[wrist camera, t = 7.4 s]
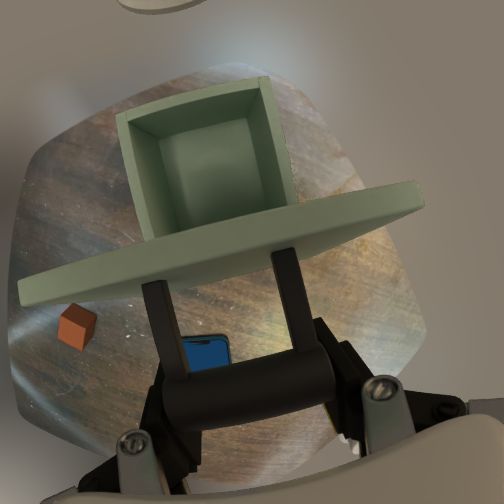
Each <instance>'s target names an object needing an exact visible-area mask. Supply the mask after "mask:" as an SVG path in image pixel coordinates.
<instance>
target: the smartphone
mask: <svg viewBox="0 0 504 504" xmlns="http://www.w3.org/2000/svg"><path fill="white" fill-rule="evenodd" d="M182 342H183V345H184V349H185V352H186V356H187V359H188V362H189V366H190V369H191V372H193V371H198V370H204V369H209V368H214V367H219V366H224V365H229V364H232V363H231V358H230V351H229V344H228V340H227V338H226V337H224V336H209V337H196V338H182Z"/></svg>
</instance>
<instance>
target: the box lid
mask: <svg viewBox="0 0 504 504" xmlns="http://www.w3.org/2000/svg"><path fill="white" fill-rule="evenodd" d="M424 206H425V203H424V200H423V197H422V194H421V191H420V188H419V186H418V183H417V181H414V180H413V181H407V182H402V183H396V184H390V185H385V186H380V187H374V188H369V189H364V190H359V191H354V192H349V193H344V194H339V195H334V196H329V197H324V198H319V199H315V200H310V201H305V202H301V203H296V204H292V205H287V206H283V207H278V208H274V209H270V210H265V211H261V212H257V213H253V214H248V215H244V216H240V217H236V218H232V219H228V220H224V221H220V222H216V223H212V224H208V225H204V226H200V227H196V228H192V229H189V230H185V231H181V232H177V233H173V234H170V235H166V236H162V237H159V238H155V239H151V240H148V241H144V242H141V243H137V244H134V245H130V246H127V247H123V248H120V249H116V250H113V251H109V252H106V253H103V254H99V255H96V256H93V257H89V258H86V259H83V260H80V261H76V262H73V263H70V264H67V265H64V266H60V267H57V268H54V269H51V270H48V271H45V272H42V273H39V274H36V275H33V276H30V277H27V278H24V279H21V280H19V281H18V283H17V284H18V291H19V298H20V304H21V306H23V307H28V306H43V305H56V304H69V303H81V302H92V301H103V300H113V299H123V298H133V297H142V296H143V297H144V302H145V306H146V310H147V314H148V318H149V322H150V326H151V329H152V333H153V337H154V340H155V344H156V347H157V351H158V354H159V358H160V361H161V364H162V367H163V371H164V374H165V377H166V378H165V379H164V382H163V386H162V398H163V405H164V409H165V413H166V415H167V418H168V420H169V422H170V424H171V426H172V427H173V429H174V430H175V431H177V432H179V433H187V432H195V431H203V430H210V429H217V428H223V427H229V426H235V425H240V424H245V423H250V422H255V421H260V420H264V419H268V418H272V417H277V416H281V415H284V414H288V413H292V412H296V411H299V410H303V409H306V408H309V407H313V406H316V405H319V404H322V403H325V402H328V401H331V400H334V399H335V398H336V395H337V386H336V379H335V375H334V371H333V367H332V364H331V361H330V359H329V356H328V354H327V352H326V350H325V348H324V347H323V345H322V344H321V343H320V342H318V341H317V336H316V332H315V327H314V323H313V319H312V315H311V310H310V306H309V302H308V298H307V294H306V290H305V286H304V282H303V278H302V274H301V270H300V266H299V262H298V261H299V260H303V259H306V258H310V257H312V256H315V255H317V254H320V253H322V252H324V251H327V250H329V249H331V248H334V247H336V246H338V245H341V244H343V243H345V242H348V241H350V240H352V239H355V238H357V237H359V236H361V235H364V234H366V233H368V232H371V231H373V230H375V229H377V228H380V227H382V226H384V225H386V224H388V223H391V222H393V221H395V220H397V219H400V218H402V217H404V216H406V215H408V214H411V213H413V212H415V211H417V210H419V209H422V208H423V207H424ZM271 267H273V270H274V274H275V278H276V281H277V285H278V289H279V293H280V297H281V301H282V305H283V309H284V313H285V317H286V321H287V326H288V330H289V334H290V338H291V342H292V346H293V349H290V350H286V351H282V352H278V353H275V354H271V355H267V356H263V357H259V358H255V359H251V360H246V361H242V362H238V363H233V364H229V365H224V366H219V367H214V368H209V369H204V370H198V371H193V372H191V369H190V366H189V362H188V359H187V356H186V352H185V349H184V345H183V342H182V338H181V335H180V331H179V327H178V323H177V320H176V316H175V312H174V308H173V304H172V300H171V296H170V292H173V291H177V290H182V289H186V288H190V287H194V286H198V285H203V284H207V283H211V282H215V281H219V280H223V279H227V278H231V277H236V276H240V275H244V274H248V273H252V272H256V271H260V270H264V269H268V268H271Z"/></svg>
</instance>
